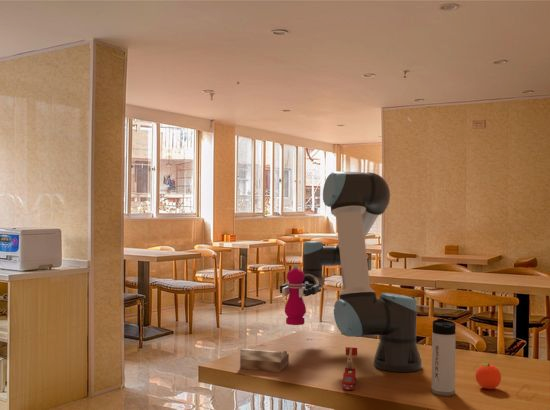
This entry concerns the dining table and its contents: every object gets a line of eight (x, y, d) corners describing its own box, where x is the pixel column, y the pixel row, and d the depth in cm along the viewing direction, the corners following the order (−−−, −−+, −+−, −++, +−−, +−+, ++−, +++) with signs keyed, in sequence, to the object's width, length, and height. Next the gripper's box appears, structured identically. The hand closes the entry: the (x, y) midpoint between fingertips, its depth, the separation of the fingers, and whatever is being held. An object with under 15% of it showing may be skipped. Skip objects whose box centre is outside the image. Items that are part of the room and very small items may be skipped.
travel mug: (450, 388, 167) (451, 318, 167) (458, 396, 161) (459, 322, 161) (428, 388, 167) (429, 318, 167) (435, 396, 160) (436, 322, 160)
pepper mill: (309, 323, 200) (310, 264, 200) (299, 326, 194) (299, 265, 194) (291, 320, 204) (291, 263, 204) (280, 324, 198) (281, 264, 198)
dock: (288, 363, 193) (288, 344, 193) (279, 372, 182) (280, 352, 182) (250, 359, 196) (251, 341, 196) (240, 368, 185) (240, 349, 185)
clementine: (467, 387, 169) (467, 362, 169) (478, 382, 174) (479, 358, 174) (494, 394, 163) (494, 368, 163) (505, 389, 168) (505, 364, 168)
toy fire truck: (342, 390, 164) (342, 356, 164) (346, 377, 178) (346, 345, 178) (354, 391, 164) (354, 356, 164) (357, 377, 177) (357, 345, 177)
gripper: (331, 296, 214) (318, 305, 191) (283, 294, 219) (265, 302, 196) (331, 275, 214) (318, 282, 192) (283, 273, 219) (265, 280, 196)
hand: (291, 292), depth 194 cm, fingers closed on pepper mill, 5 cm apart
